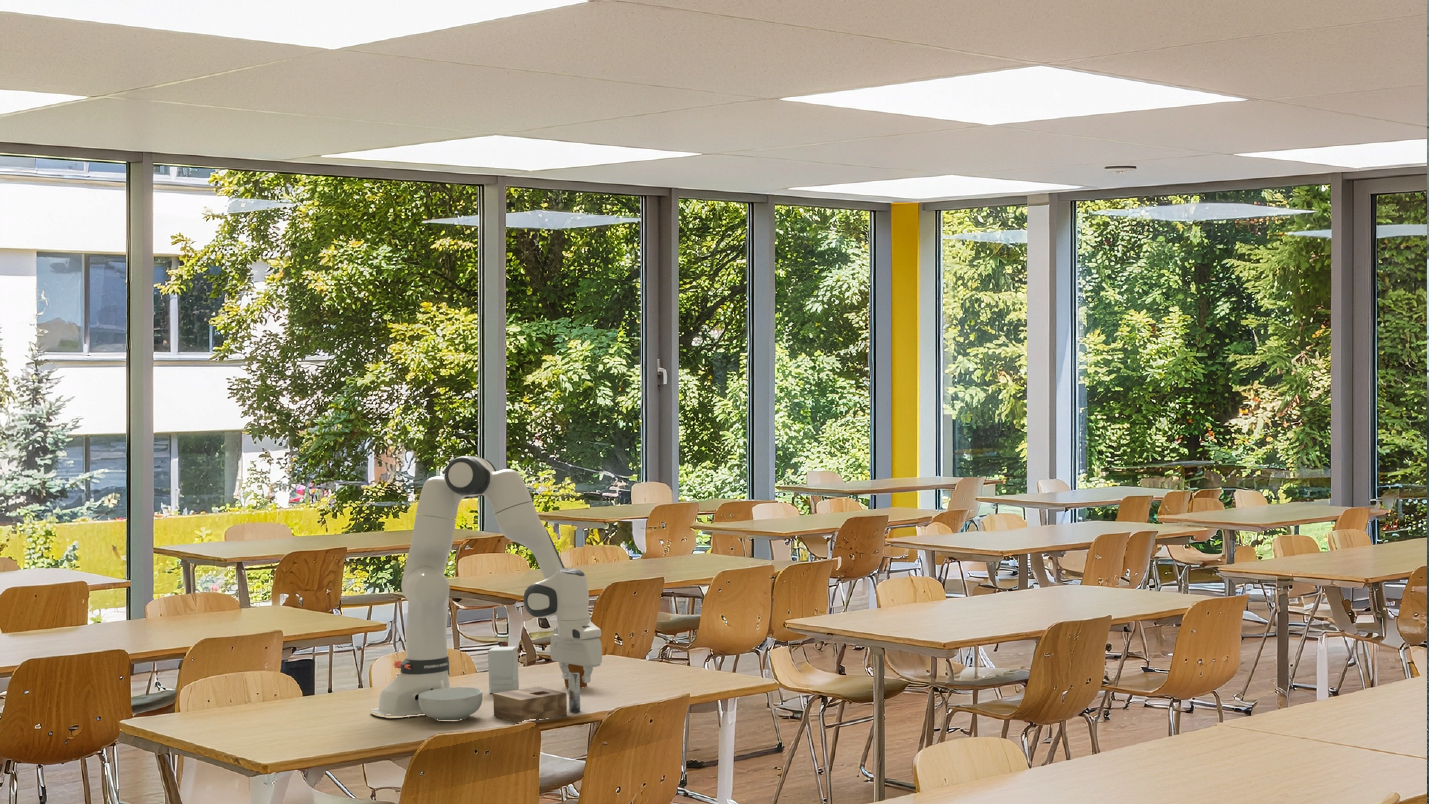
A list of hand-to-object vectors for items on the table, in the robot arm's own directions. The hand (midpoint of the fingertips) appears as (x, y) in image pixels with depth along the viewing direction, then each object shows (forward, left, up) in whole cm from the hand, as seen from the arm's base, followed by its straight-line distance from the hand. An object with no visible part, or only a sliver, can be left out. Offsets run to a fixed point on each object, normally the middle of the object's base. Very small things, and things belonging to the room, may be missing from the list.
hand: (576, 680), depth 398 cm
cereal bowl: (-30, +15, -8) cm, 34 cm away
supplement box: (+1, +41, -8) cm, 42 cm away
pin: (-1, 0, -8) cm, 8 cm away
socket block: (-13, +3, -8) cm, 15 cm away
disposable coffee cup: (+20, +32, -8) cm, 39 cm away
